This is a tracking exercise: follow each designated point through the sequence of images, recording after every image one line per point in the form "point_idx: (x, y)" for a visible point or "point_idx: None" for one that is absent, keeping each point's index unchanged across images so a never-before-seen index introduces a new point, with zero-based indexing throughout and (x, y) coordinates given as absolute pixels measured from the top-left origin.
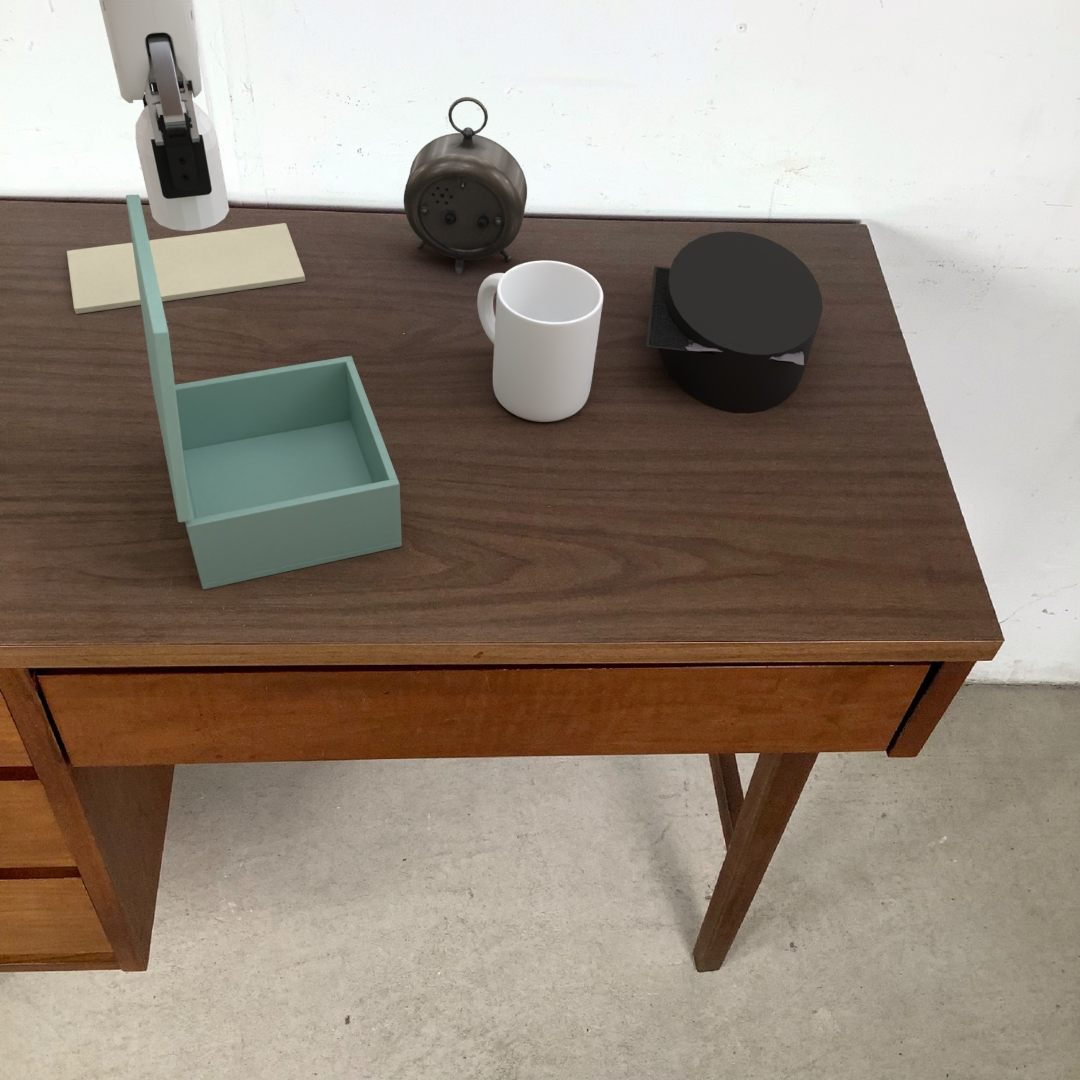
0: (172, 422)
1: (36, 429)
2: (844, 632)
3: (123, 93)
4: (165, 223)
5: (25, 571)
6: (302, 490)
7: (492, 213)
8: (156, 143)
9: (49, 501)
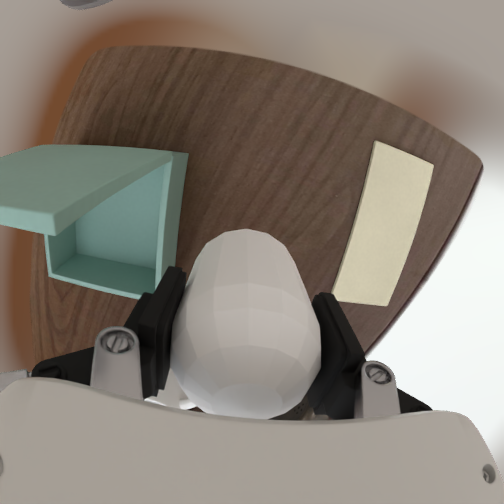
0: None
1: (258, 73)
2: (36, 363)
3: (5, 391)
4: (213, 240)
5: (131, 53)
6: (118, 220)
7: (276, 416)
8: (101, 333)
9: (180, 68)
